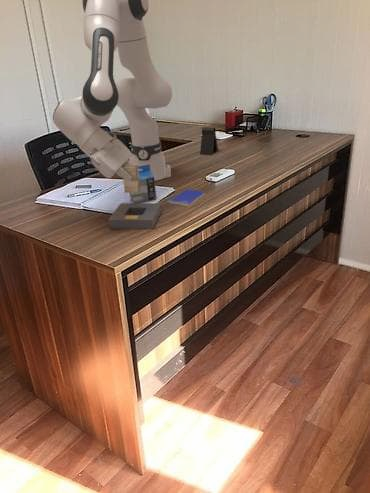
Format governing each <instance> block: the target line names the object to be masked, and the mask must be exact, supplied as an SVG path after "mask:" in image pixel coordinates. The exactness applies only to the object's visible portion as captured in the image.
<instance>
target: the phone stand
mask: <svg viewBox="0 0 370 493" xmlns="http://www.w3.org/2000/svg"><path fill="white" fill-rule="evenodd" d="M216 130H217V129H216V128H215V127H205V126H204V127H202V128H201V139H200V140H201V142H200V152H199V155H203V156H204V155H205V156H213V155H214V154H215V153H217V152H218V151H219V146H218V140H217V134H216V132H217V131H216Z"/></svg>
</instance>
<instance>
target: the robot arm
mask: <svg viewBox="0 0 370 493" xmlns="http://www.w3.org/2000/svg"><path fill="white" fill-rule="evenodd" d="M82 8H83V11H84V18H83V39H84V44H85V46H86V48H88V49H89V50H90V51H91V57H90V58H91V61H90V73H89V76H88V78H87V79H86V82H85V83H84V85H83V88H82V95H80V96H78V97H74V98H68V99H67V98H65V99H61V101H60V102H59V103H58V104H57V105H56V107H55V109H54V111H53V113H52V121H53V124H54V126H56V128H57V129H58V130H59V131H60V132H61V133H62V134H63V135H64V136H65V137H66V138H67V139H69V141H72V142H73V143H75V145H77V146H78V148H79V150H81V151H82V152H83V153H84V154H85V155H86V156H88V157H89V160H91V164H92V165H93V166H94V168H95V169H97V171H98V172H99V173H100V174H101V175H102V176H104V177H105V178H107V179H111V178H112V177H113V176H114V175H115V174H116V175H117V176H119V177H120V178H122V179H123V178H125V179H126V180H127V181H130V180H131V179H132V177H133V176H132V175H131V174H130V173H127V172H125V171H124V169H123V168H122V167H123V166H124V165H125V164H138V166H143V165H149V164H150V171H151V173H152V174H153V176H154V180H155V182H156V181H160V180H163V179H166V178H171V177H172V168H171V164H166V156H165V154H164V153H163V151H162V144H161V140H160V134H159V125H158V123H157V120H155V118H153V117H151V116H150V115H149V113H148V112H147V110H146V109H161V108H165V107H167V106H169V104H170V102H171V100H172V96H173V91H172V87H171V85H170V83H169V82H168V81H167V80H166V79H164V77H162V76H161V75H160V73H159V72H158V71H157V69H156V67H155V66H154V63H153V62H152V58H151V55H150V54H151V53H150V50H149V45H148V38H147V34H146V28H145V24H144V21H143V18H144V17H145V16H146V15H147V12H148V10H149V0H82ZM115 51H117V53H118V58H119V63H120V64H121V66H122V67H123V68H124V69H126V70H128V71H129V72H130V73H131V74H132V77H131V78H130V77H129V78H128V77H125V78H121V79H118V80H116V81H115V78H114V61H115V60H114V58H115V57H114V56H115V55H114V54H115ZM116 106H117V107H119V109H120V110H121V112H123V114H124V116H125V118H126V119H127V123H128V125H129V131H130V138H131V146H130V147H131V150H130V149H129V148H128V147H127V146H126V145H125V144H124V143H123V142H122V141H121V140H120V139H118V138H117V135H116V134H115V133H114V132H113V131H106V130H104V129H102V128H101V126H102V125H103V124H105V123H106V122H108V120H109V119H110V117H111V116H112V114H113V112H114V110H115V108H116ZM138 170H139V171H142V170H143V169H138Z"/></svg>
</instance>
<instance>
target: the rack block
mask: <svg viewBox="0 0 370 493" xmlns="http://www.w3.org/2000/svg"><path fill="white" fill-rule="evenodd" d="M161 214H162V203H159V202H158V203H155V202H154V203H153V202H152V203H151V202H149V203H148V202H147V203H146V202H144V203H143V202H139V203H133V202H128V203H127V202H126V203H125V202H121V203H119V205H118V206H117V208H116V209H115V210H114V211H113V213H112V214H111V216H110V217H109V218H108V220H107V221H108V226H109V229H113V230H114V229H119V230H120V229H121V230H122V229H123V230H124V229H125V230H126V229H130V230H131V229H132V230H140V229H141V230H153V229H154V228H155V226H156V224H157V222H158V220H159V218H160V216H161Z"/></svg>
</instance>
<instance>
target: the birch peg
mask: <svg viewBox="0 0 370 493" xmlns="http://www.w3.org/2000/svg"><path fill="white" fill-rule="evenodd" d="M122 168H123V169H124V171H125V172H127V173H130V174H131V175H132V176H133V177H132V179H131V180H130V181H127V180H126V179H125V178H123V177H122V179H123V187H124V193H125V194H128V193H129V194H130V193H137V192H138V191H139V190H140V180H139V170H138V164H125V165H124V166H122Z"/></svg>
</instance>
